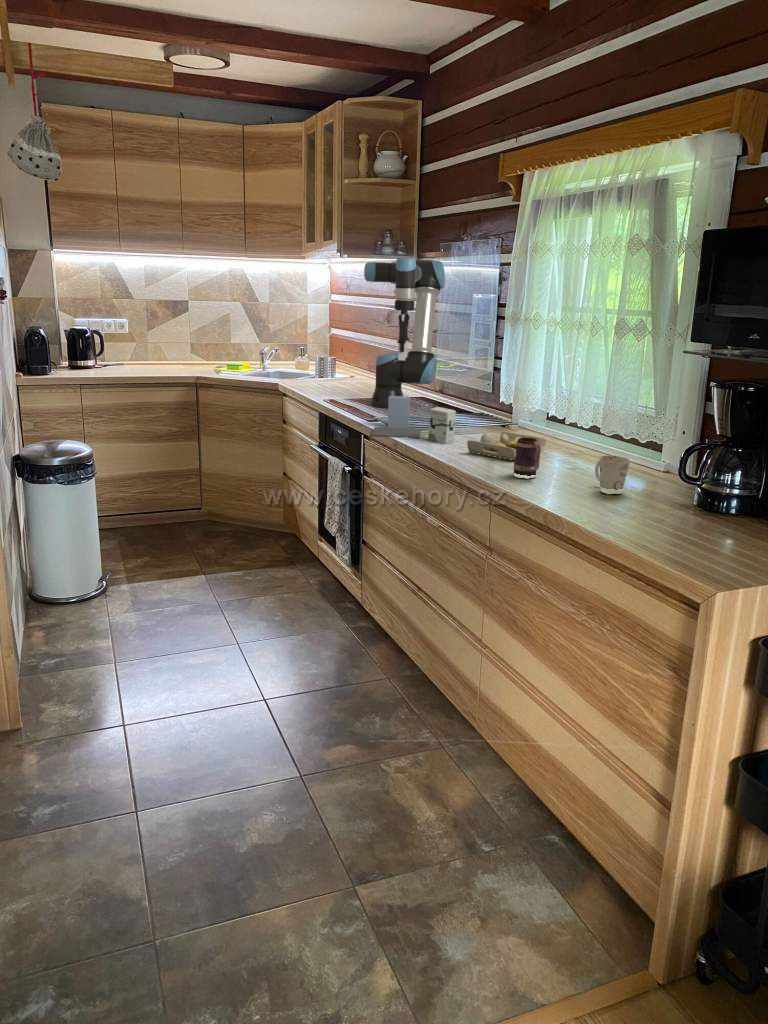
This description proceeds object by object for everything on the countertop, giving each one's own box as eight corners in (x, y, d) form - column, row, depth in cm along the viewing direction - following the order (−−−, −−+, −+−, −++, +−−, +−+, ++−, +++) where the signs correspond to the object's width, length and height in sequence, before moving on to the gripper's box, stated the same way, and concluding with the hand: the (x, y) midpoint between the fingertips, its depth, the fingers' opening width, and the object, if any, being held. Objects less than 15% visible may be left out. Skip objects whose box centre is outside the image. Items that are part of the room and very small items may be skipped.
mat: (374, 428, 306) (374, 427, 305) (420, 430, 304) (421, 429, 304) (370, 436, 292) (370, 434, 292) (419, 438, 291) (419, 437, 291)
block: (388, 426, 311) (389, 395, 307) (408, 427, 310) (410, 396, 307) (387, 428, 306) (388, 397, 303) (408, 429, 306) (409, 398, 302)
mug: (608, 497, 223) (612, 463, 220) (581, 486, 234) (584, 453, 231) (631, 495, 227) (636, 461, 224) (603, 483, 237) (607, 451, 234)
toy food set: (512, 464, 259) (514, 441, 257) (465, 455, 270) (466, 433, 267) (546, 451, 279) (548, 430, 276) (501, 443, 289) (502, 422, 287)
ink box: (427, 440, 288) (429, 408, 285) (436, 438, 292) (437, 406, 288) (446, 444, 283) (447, 411, 279) (454, 442, 286) (456, 410, 282)
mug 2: (508, 474, 245) (511, 436, 241) (529, 473, 247) (532, 435, 244) (524, 482, 236) (528, 443, 232) (545, 481, 238) (549, 442, 234)
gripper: (396, 298, 315) (394, 355, 322) (392, 300, 294) (391, 361, 301) (415, 298, 314) (413, 356, 321) (413, 301, 294) (410, 362, 300)
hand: (402, 358), depth 311 cm, fingers open, 9 cm apart
